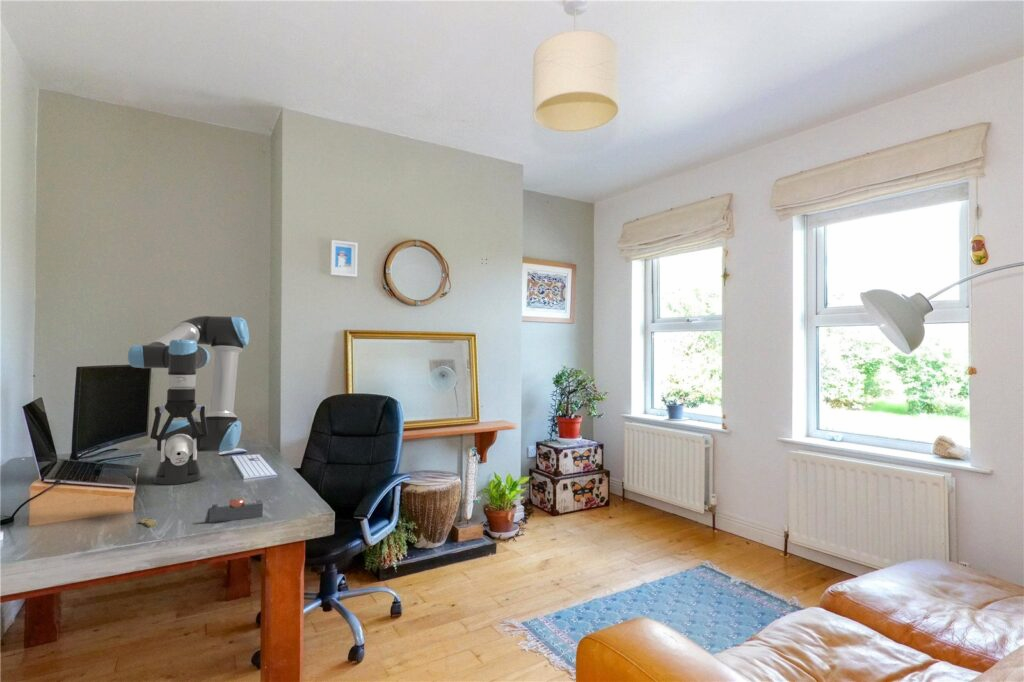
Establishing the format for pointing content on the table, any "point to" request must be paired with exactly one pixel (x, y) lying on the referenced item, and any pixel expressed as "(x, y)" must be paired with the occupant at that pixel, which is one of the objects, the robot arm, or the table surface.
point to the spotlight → (179, 448)
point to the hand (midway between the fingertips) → (178, 460)
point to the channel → (236, 510)
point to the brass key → (148, 522)
